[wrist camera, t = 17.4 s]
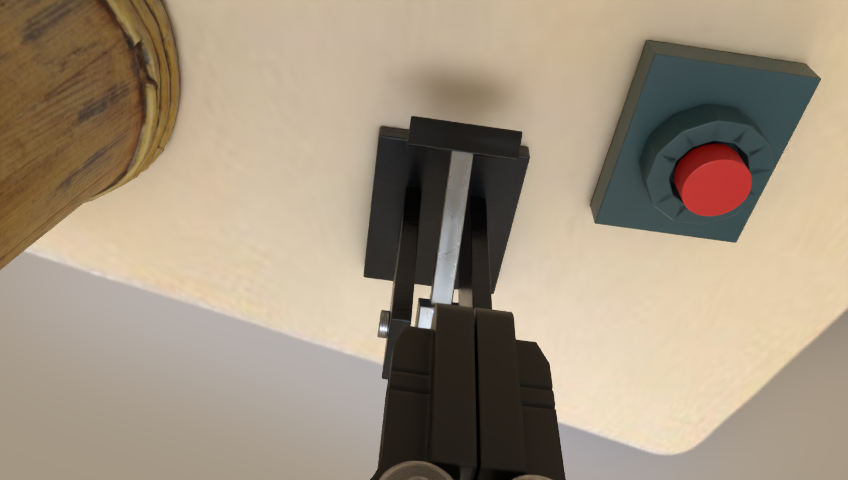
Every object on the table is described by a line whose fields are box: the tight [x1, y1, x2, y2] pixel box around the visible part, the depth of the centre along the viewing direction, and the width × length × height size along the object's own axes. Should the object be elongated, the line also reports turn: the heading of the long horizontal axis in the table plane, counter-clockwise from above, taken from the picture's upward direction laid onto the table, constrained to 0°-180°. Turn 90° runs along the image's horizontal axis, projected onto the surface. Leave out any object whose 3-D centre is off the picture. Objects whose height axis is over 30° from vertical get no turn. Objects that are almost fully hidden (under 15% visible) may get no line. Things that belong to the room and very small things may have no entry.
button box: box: [590, 40, 821, 243], centre depth 39 cm, size 11×9×4 cm
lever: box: [407, 116, 522, 329], centre depth 35 cm, size 12×6×2 cm, turn 172°
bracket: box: [364, 127, 530, 379], centre depth 39 cm, size 11×9×13 cm
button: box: [674, 143, 752, 216], centre depth 37 cm, size 4×4×2 cm
